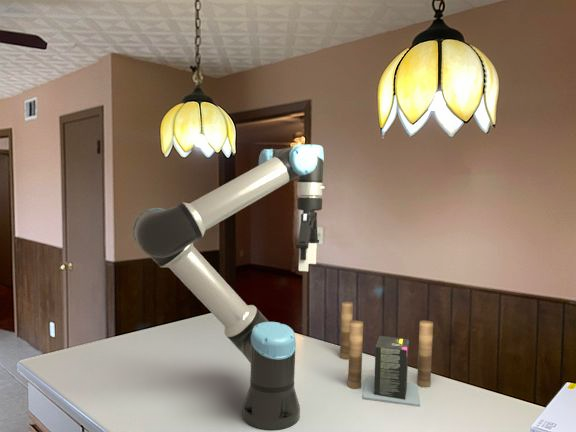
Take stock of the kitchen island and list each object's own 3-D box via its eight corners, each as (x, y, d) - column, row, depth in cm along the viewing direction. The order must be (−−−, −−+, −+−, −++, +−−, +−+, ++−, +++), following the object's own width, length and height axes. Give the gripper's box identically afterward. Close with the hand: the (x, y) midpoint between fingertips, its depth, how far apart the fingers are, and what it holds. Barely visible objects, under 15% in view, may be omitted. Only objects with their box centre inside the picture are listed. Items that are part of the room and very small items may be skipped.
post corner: (360, 389, 134) (362, 324, 133) (347, 388, 135) (349, 323, 134) (361, 384, 138) (363, 321, 137) (348, 382, 139) (350, 320, 138)
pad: (420, 406, 125) (420, 404, 125) (362, 399, 128) (362, 397, 128) (417, 385, 138) (417, 383, 138) (365, 379, 142) (365, 377, 142)
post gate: (350, 360, 158) (352, 304, 157) (339, 358, 159) (341, 303, 157) (351, 356, 162) (353, 302, 160) (340, 354, 162) (342, 301, 161)
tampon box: (405, 400, 127) (407, 350, 126) (373, 395, 130) (375, 346, 129) (407, 384, 137) (409, 338, 136) (377, 380, 140) (378, 334, 139)
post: (430, 388, 136) (433, 324, 135) (417, 386, 137) (420, 323, 136) (429, 383, 140) (432, 321, 139) (416, 381, 141) (419, 319, 140)
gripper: (315, 197, 120) (312, 275, 121) (327, 197, 144) (325, 261, 145) (288, 196, 121) (286, 273, 123) (305, 196, 146) (303, 260, 147)
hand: (307, 267), depth 134 cm, fingers open, 13 cm apart
